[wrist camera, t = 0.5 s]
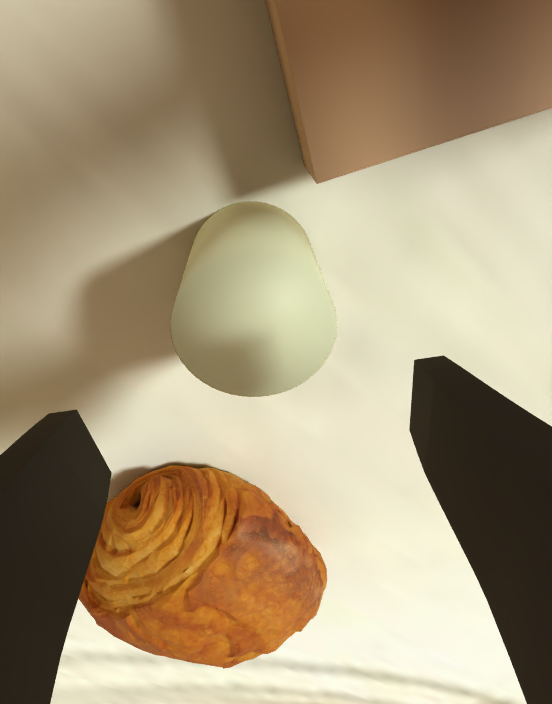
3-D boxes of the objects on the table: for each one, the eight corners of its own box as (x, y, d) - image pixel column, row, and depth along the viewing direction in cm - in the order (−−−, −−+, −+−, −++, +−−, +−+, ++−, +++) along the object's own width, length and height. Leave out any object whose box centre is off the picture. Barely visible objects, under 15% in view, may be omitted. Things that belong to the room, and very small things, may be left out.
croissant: (246, 400, 24) (239, 506, 17) (346, 559, 30) (371, 686, 23) (48, 486, 26) (-32, 611, 19) (178, 617, 33) (154, 748, 26)
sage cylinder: (295, 183, 15) (316, 229, 11) (324, 298, 18) (351, 374, 13) (170, 224, 16) (140, 284, 11) (217, 329, 19) (207, 412, 14)
